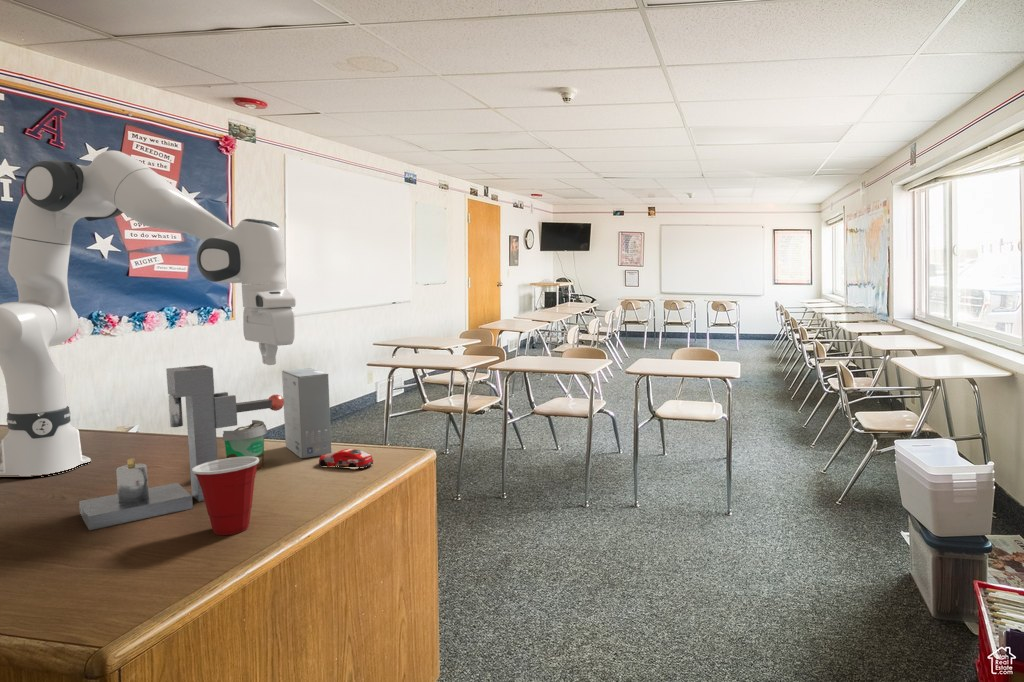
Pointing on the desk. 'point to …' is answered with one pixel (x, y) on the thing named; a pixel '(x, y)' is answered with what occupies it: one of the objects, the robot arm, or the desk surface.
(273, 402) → the lever
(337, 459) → the race car
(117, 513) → the press
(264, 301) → the robot arm
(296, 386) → the hard drive box
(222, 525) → the plastic cup
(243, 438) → the food container
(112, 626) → the desk surface
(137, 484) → the cylinder
